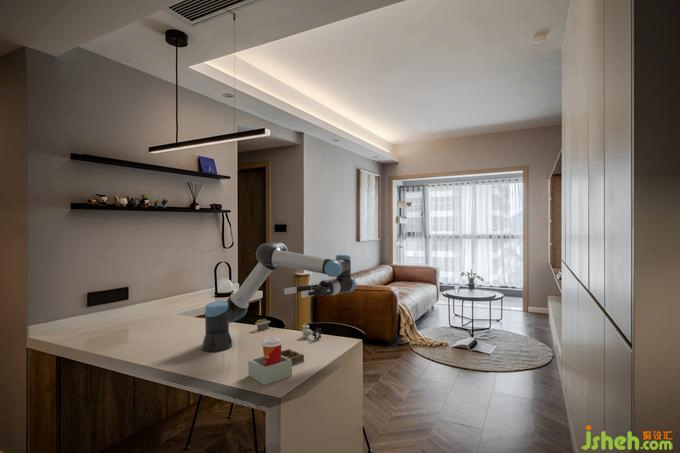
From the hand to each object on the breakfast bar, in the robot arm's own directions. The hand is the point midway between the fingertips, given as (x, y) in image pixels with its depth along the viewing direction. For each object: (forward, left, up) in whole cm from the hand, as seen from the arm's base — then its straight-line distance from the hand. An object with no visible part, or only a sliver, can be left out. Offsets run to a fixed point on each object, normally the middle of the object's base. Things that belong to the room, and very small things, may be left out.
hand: (292, 293), depth 164 cm
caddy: (+4, -15, -32) cm, 35 cm away
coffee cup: (+6, -15, -32) cm, 36 cm away
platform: (-65, +20, -33) cm, 76 cm away
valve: (-28, +30, -32) cm, 52 cm away
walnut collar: (-6, -1, -32) cm, 33 cm away
